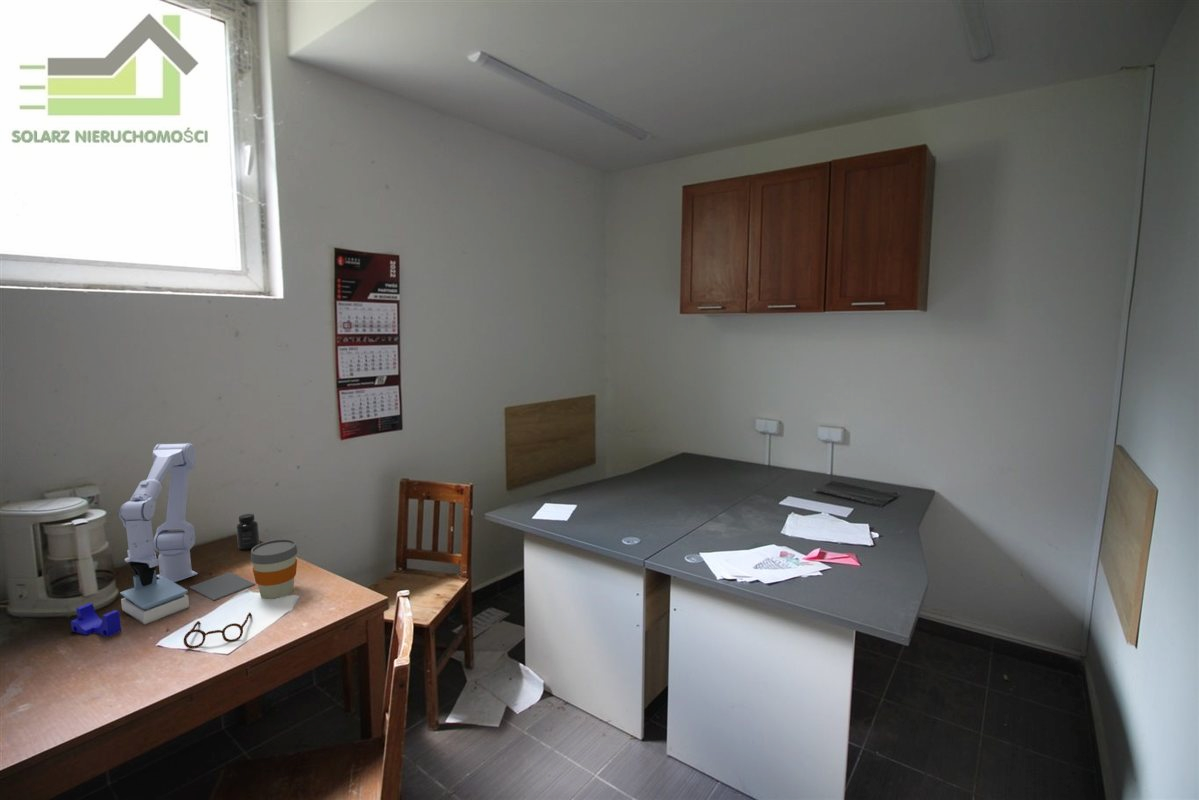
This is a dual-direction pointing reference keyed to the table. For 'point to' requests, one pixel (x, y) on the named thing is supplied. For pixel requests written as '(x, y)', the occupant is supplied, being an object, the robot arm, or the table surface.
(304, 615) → the table surface
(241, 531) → the supplement bottle
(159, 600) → the lid
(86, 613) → the cable clip
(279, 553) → the reusable coffee cup
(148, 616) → the tub
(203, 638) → the glasses
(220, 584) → the mat
